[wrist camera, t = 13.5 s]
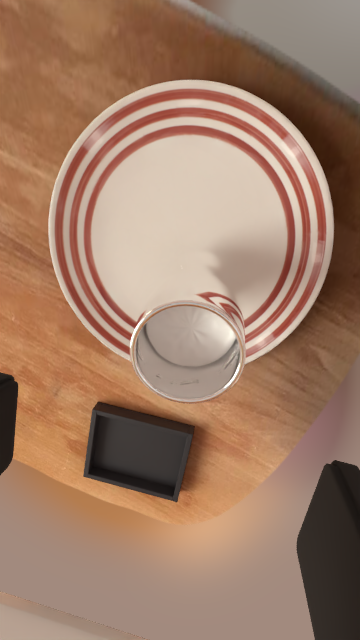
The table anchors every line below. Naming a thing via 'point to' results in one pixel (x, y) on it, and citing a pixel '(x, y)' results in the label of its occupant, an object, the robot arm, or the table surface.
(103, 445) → the tray
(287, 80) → the table surface
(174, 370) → the beer glass
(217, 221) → the dinner plate
